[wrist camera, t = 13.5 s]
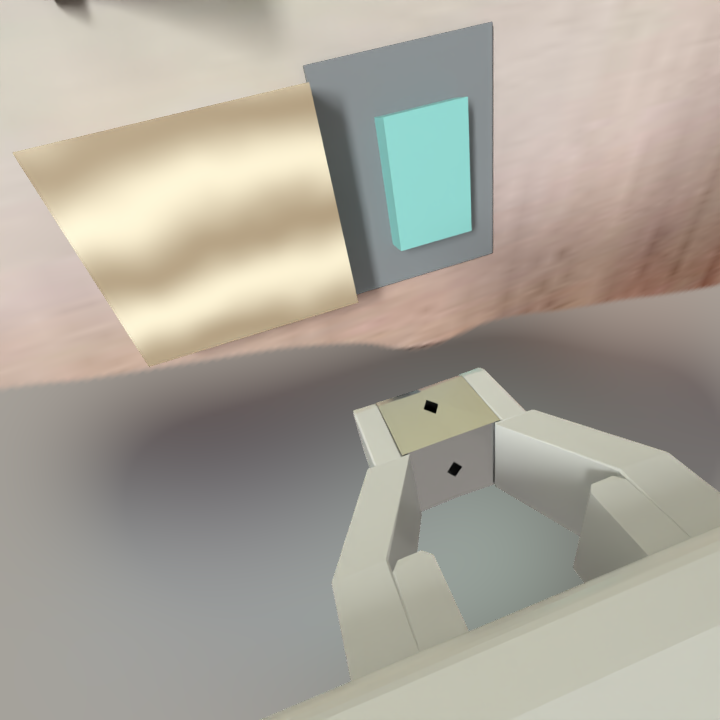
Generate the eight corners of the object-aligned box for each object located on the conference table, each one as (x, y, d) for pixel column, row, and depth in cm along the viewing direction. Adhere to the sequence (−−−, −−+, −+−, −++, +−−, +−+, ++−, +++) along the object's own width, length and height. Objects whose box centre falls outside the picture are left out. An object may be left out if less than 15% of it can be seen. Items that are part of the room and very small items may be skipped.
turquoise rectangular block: (468, 96, 26) (454, 97, 27) (383, 117, 25) (374, 117, 27) (471, 230, 31) (459, 225, 32) (401, 251, 30) (392, 244, 32)
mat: (302, 66, 24) (303, 65, 24) (489, 22, 26) (492, 21, 25) (354, 293, 33) (355, 294, 33) (490, 251, 35) (492, 253, 34)
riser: (44, 147, 23) (12, 152, 20) (299, 86, 25) (309, 82, 22) (158, 340, 31) (149, 366, 28) (346, 284, 33) (358, 302, 30)
